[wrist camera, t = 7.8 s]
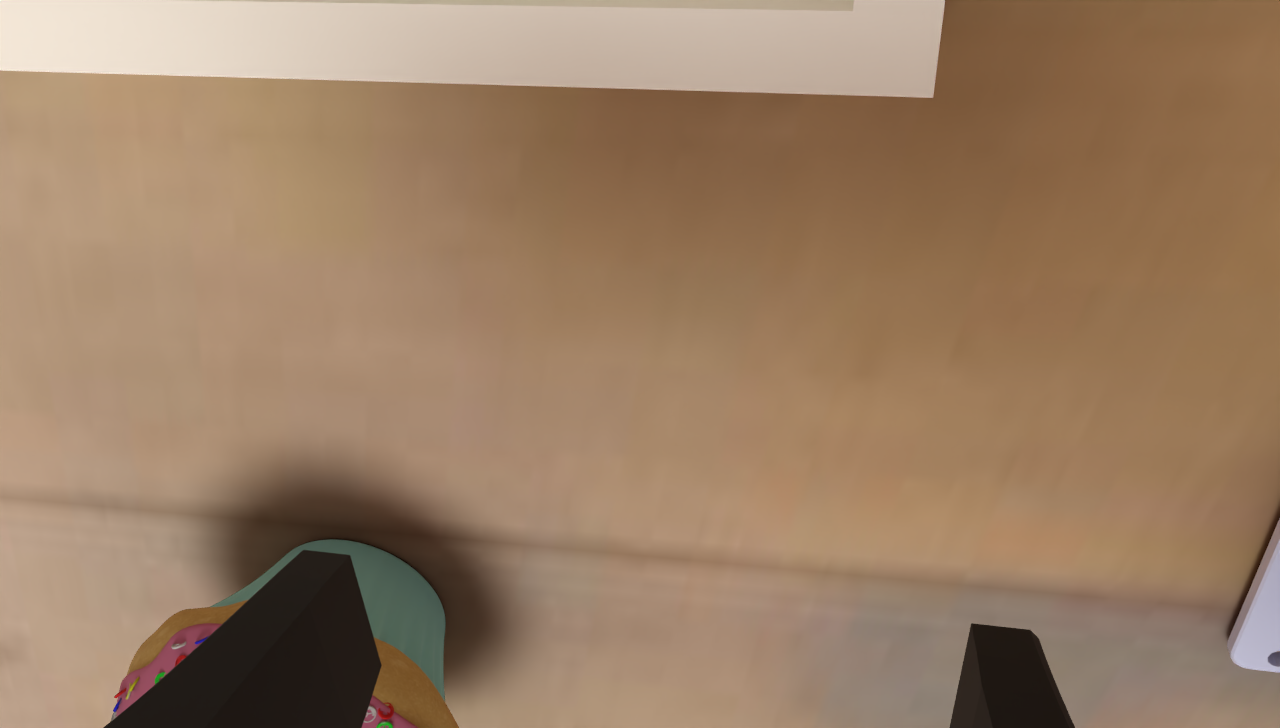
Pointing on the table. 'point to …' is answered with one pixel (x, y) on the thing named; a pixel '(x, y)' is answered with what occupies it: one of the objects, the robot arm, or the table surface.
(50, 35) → the cream bin
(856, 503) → the table surface
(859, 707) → the table surface
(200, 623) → the cupcake
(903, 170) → the table surface
